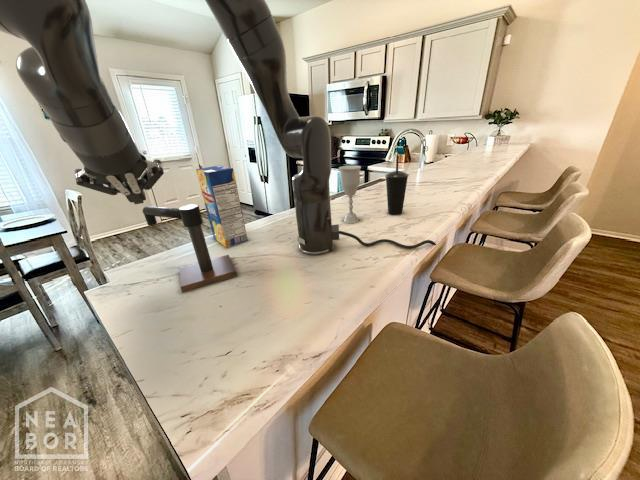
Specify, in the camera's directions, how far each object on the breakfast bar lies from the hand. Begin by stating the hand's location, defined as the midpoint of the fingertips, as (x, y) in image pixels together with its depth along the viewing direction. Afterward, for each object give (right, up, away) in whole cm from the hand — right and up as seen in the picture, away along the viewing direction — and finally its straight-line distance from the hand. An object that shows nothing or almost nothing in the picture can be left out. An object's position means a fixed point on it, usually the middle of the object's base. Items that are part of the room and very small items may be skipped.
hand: (138, 199), depth 52 cm
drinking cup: (+63, +2, +43) cm, 76 cm away
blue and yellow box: (+7, -8, +32) cm, 34 cm away
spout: (+1, -5, +10) cm, 11 cm away
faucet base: (+8, -16, +13) cm, 22 cm away
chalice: (+47, -1, +39) cm, 61 cm away
